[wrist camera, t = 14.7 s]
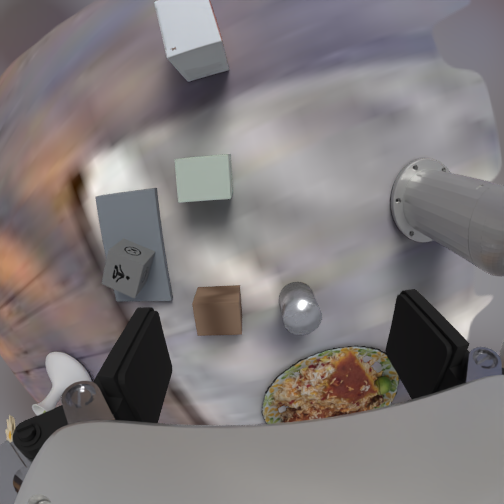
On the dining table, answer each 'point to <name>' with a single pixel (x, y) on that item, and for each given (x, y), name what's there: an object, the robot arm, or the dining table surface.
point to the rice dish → (331, 386)
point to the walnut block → (218, 310)
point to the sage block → (204, 178)
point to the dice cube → (127, 267)
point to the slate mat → (137, 236)
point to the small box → (191, 37)
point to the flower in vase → (55, 383)
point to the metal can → (299, 308)
